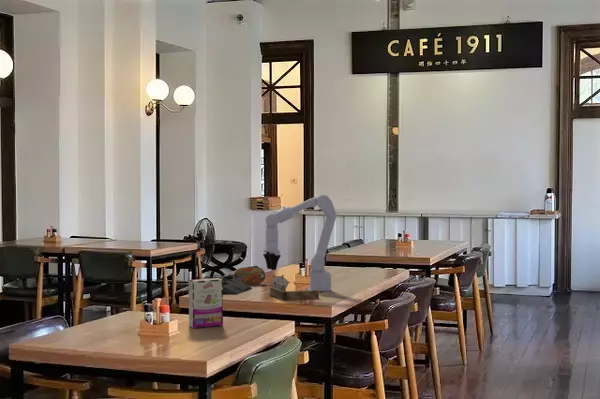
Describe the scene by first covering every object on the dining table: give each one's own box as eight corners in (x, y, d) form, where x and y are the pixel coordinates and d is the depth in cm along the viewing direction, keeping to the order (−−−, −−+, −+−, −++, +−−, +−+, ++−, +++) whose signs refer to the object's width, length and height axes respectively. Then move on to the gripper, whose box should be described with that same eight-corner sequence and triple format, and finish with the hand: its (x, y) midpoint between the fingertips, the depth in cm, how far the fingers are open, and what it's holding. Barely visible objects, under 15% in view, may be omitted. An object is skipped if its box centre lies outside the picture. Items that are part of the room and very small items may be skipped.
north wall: (317, 297, 335) (317, 289, 335) (318, 298, 334) (318, 290, 334) (282, 299, 328) (282, 291, 328) (283, 300, 327) (283, 292, 327)
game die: (283, 301, 348) (289, 285, 343) (265, 294, 348) (271, 278, 343) (287, 289, 356) (293, 273, 350) (270, 282, 356) (276, 266, 350)
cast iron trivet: (205, 294, 345) (205, 283, 345) (223, 287, 366) (223, 277, 366) (237, 296, 341) (237, 285, 341) (254, 289, 362) (254, 279, 362)
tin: (234, 285, 372) (234, 267, 372) (233, 284, 375) (233, 267, 375) (265, 284, 375) (265, 267, 375) (264, 283, 378) (264, 266, 378)
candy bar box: (218, 323, 274) (218, 277, 273) (223, 326, 269) (223, 279, 269) (187, 326, 269) (188, 279, 268) (192, 328, 264) (193, 281, 264)
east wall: (273, 295, 341) (273, 287, 341) (286, 300, 328) (287, 292, 328) (270, 295, 341) (270, 287, 340) (283, 300, 327) (283, 292, 327)
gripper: (258, 239, 362) (257, 268, 363) (269, 241, 349) (269, 271, 349) (272, 238, 365) (271, 267, 366) (284, 241, 352) (284, 270, 352)
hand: (271, 269), depth 358 cm, fingers open, 4 cm apart
